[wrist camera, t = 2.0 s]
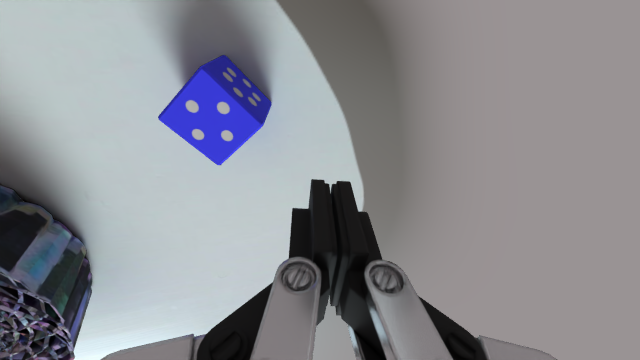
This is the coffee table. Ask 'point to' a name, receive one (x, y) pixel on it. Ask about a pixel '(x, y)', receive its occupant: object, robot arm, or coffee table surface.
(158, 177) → the coffee table surface
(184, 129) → the die
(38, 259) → the decorative bowl
